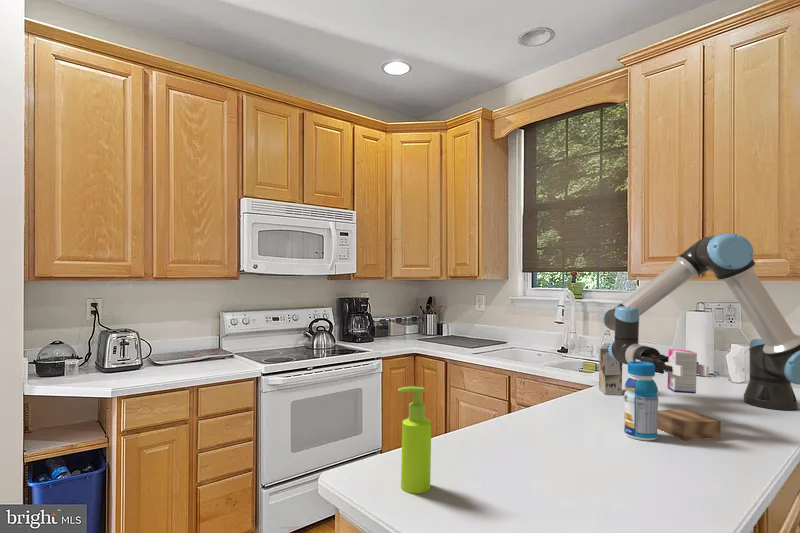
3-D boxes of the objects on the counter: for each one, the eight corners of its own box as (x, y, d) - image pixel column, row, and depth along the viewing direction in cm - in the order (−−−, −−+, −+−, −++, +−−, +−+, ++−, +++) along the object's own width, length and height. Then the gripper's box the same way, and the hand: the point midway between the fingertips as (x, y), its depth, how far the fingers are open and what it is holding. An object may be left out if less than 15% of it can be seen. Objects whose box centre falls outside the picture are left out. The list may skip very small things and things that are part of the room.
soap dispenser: (394, 481, 100) (396, 384, 100) (427, 480, 101) (429, 384, 101) (397, 493, 94) (399, 390, 95) (432, 493, 95) (434, 390, 95)
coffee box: (622, 395, 180) (623, 352, 180) (604, 394, 180) (605, 351, 181) (615, 390, 189) (615, 348, 189) (598, 389, 190) (598, 348, 190)
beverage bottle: (650, 443, 126) (651, 367, 127) (618, 435, 133) (618, 362, 133) (663, 437, 132) (663, 363, 132) (631, 429, 138) (632, 359, 139)
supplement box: (697, 394, 134) (697, 352, 135) (673, 392, 136) (674, 351, 136) (689, 389, 140) (689, 349, 140) (666, 387, 141) (667, 348, 141)
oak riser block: (685, 425, 144) (685, 409, 144) (720, 439, 133) (720, 420, 133) (651, 427, 142) (651, 410, 142) (683, 441, 130) (683, 422, 130)
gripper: (672, 369, 157) (727, 385, 134) (614, 369, 155) (660, 385, 132) (672, 346, 157) (728, 358, 134) (614, 345, 155) (661, 357, 132)
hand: (694, 371), depth 133 cm, fingers closed on supplement box, 7 cm apart
